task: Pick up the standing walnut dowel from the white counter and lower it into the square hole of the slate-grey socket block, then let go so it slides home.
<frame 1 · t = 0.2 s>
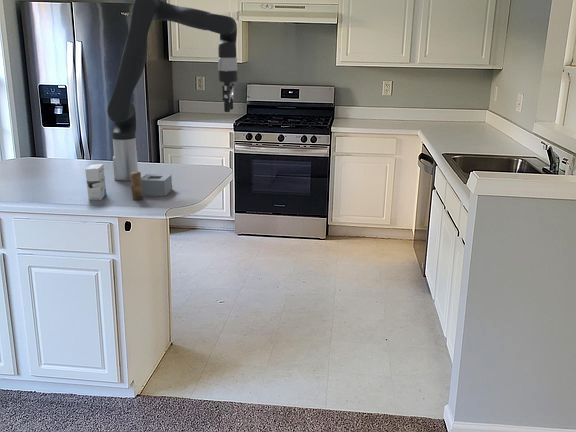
hand: (228, 110, 229), 29 cm above the countertop, fingers open, 8 cm apart
ink box: (97, 197, 212), on the countertop
socket block: (156, 192, 218), on the countertop
walnut dowel: (137, 199, 209), on the countertop
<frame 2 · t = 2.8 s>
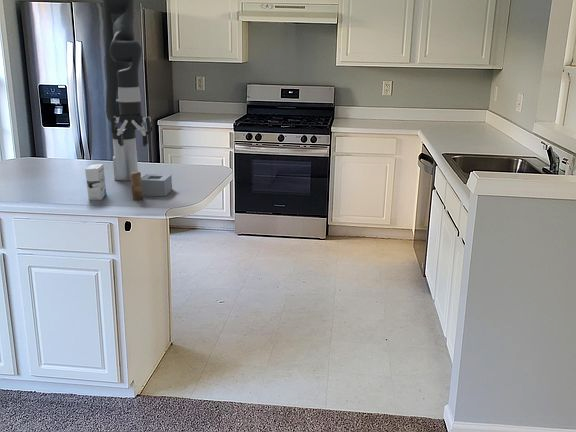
hand: (133, 145, 203), 20 cm above the countertop, fingers open, 8 cm apart
nothing on the countertop moved.
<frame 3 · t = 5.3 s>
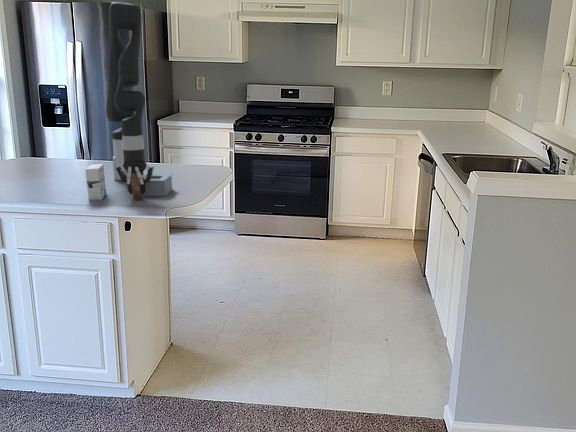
hand: (137, 193, 208), 2 cm above the countertop, fingers closed on walnut dowel, 3 cm apart
walnut dowel: (137, 199, 209), on the countertop, touching gripper
everything else where it was.
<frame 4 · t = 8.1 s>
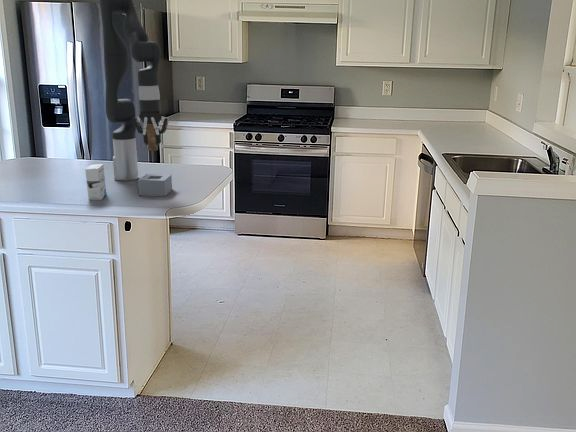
hand: (152, 144, 212), 19 cm above the countertop, fingers closed on walnut dowel, 3 cm apart
walnut dowel: (153, 150, 213), point 17 cm above the countertop, touching gripper
everything else where it was.
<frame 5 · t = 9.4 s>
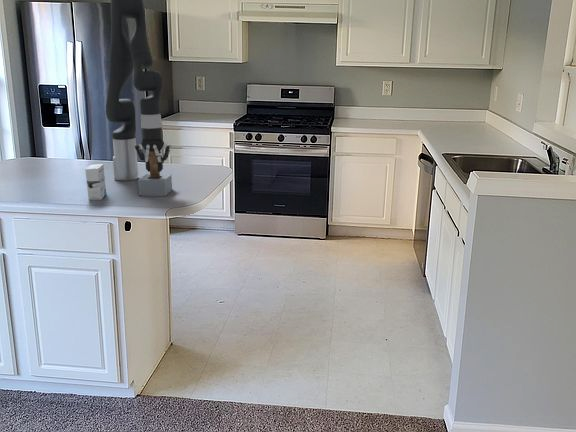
hand: (154, 171, 215), 8 cm above the countertop, fingers closed on walnut dowel, 3 cm apart
walnut dowel: (155, 176, 216), point 6 cm above the countertop, touching gripper
everything else where it was.
when the fingers open (7 cm above the countertop, at t = 10.7 s): walnut dowel drops 4 cm, resting in socket block.
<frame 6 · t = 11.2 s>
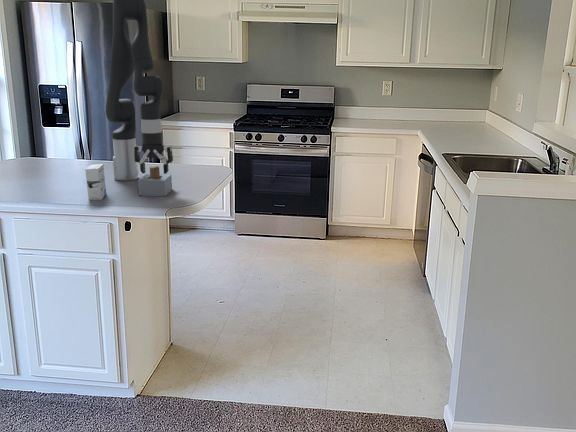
hand: (154, 173, 216), 8 cm above the countertop, fingers open, 8 cm apart
walnut dowel: (156, 192, 218), resting in socket block
everything else where it was.
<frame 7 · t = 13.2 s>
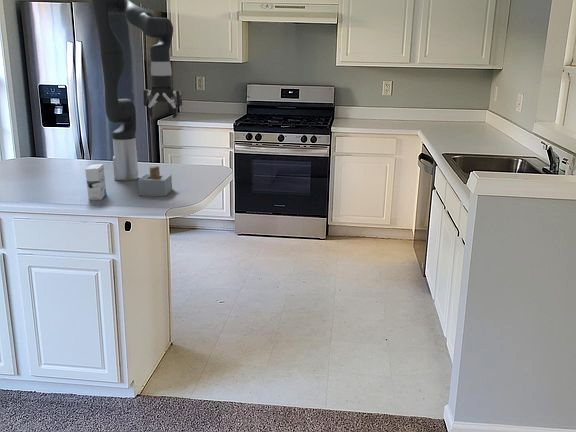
hand: (163, 117, 215), 28 cm above the countertop, fingers open, 8 cm apart
nothing on the countertop moved.
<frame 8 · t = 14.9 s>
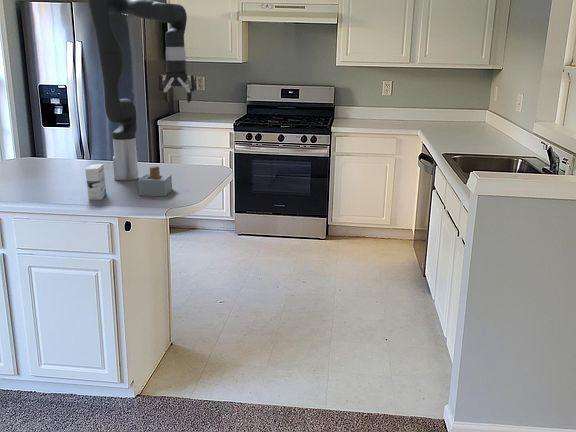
hand: (178, 102, 221), 33 cm above the countertop, fingers open, 8 cm apart
nothing on the countertop moved.
at the end: walnut dowel 0.0 cm off-centre on the socket block, point 0.0 cm above the socket block's base; walnut dowel tilted 0°; the gripper is holding nothing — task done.
